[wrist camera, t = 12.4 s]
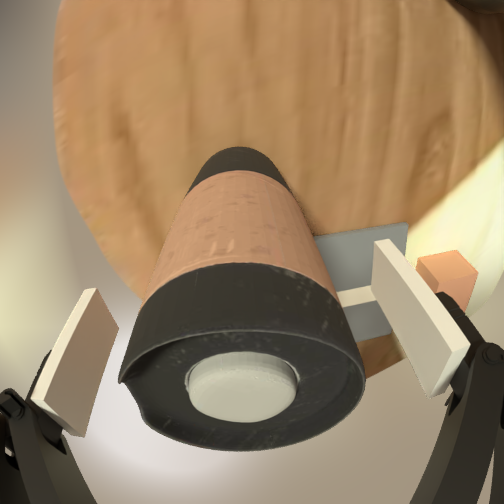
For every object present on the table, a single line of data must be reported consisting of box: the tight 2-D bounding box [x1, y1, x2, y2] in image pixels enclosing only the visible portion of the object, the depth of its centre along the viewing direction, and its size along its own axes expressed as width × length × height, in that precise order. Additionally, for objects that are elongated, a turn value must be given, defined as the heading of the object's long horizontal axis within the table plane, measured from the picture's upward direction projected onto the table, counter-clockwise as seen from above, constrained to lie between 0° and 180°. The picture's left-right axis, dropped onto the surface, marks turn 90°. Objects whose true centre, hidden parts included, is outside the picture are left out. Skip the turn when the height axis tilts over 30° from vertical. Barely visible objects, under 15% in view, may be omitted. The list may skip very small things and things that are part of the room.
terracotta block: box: [416, 250, 478, 313], centre depth 29 cm, size 6×6×5 cm
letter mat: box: [313, 222, 408, 342], centre depth 31 cm, size 16×16×1 cm
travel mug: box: [118, 147, 366, 451], centre depth 16 cm, size 8×8×20 cm
